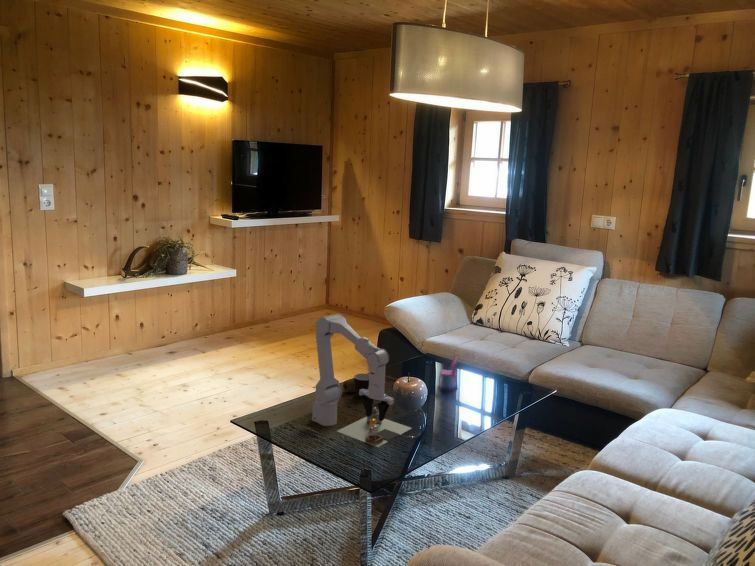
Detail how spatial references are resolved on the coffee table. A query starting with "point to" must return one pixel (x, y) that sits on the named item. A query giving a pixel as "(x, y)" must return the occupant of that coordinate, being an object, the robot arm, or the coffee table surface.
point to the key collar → (375, 442)
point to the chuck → (374, 416)
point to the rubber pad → (388, 434)
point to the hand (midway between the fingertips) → (375, 417)
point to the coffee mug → (361, 383)
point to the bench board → (362, 430)
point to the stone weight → (349, 386)
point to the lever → (372, 423)
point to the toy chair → (449, 371)
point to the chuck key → (374, 432)
